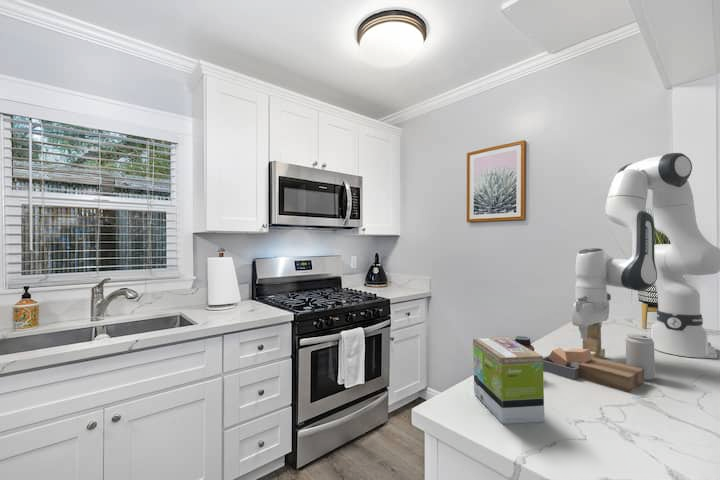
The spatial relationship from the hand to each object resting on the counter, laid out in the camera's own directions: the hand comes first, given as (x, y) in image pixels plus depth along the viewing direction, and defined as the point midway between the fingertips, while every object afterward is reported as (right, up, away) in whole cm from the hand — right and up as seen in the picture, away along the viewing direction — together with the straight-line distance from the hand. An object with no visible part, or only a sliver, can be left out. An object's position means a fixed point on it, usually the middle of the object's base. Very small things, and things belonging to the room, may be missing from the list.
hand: (590, 336), depth 114 cm
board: (-7, -7, -19) cm, 21 cm away
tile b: (-12, -4, -13) cm, 18 cm away
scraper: (0, -8, 0) cm, 8 cm away
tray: (-14, -7, -10) cm, 18 cm away
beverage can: (+3, -7, -16) cm, 18 cm away
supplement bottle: (-30, -8, -15) cm, 35 cm away
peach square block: (-15, -3, -9) cm, 17 cm away
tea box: (-44, -7, -34) cm, 56 cm away
